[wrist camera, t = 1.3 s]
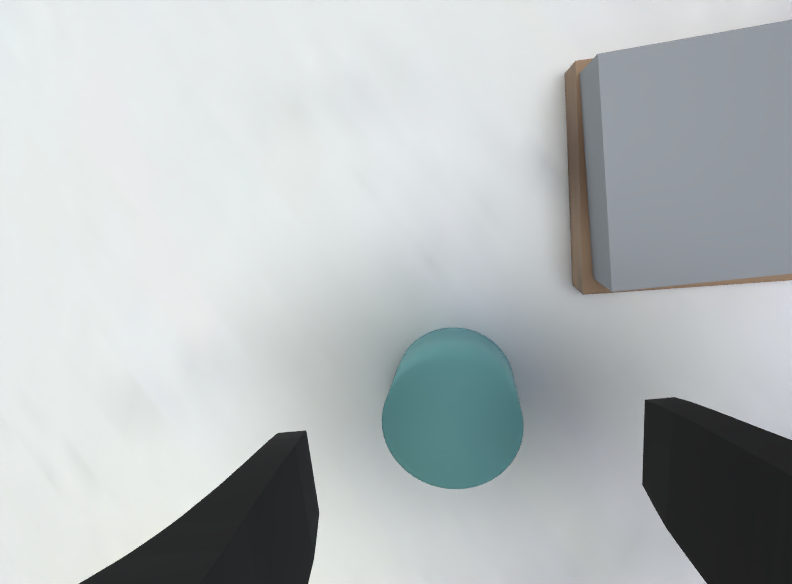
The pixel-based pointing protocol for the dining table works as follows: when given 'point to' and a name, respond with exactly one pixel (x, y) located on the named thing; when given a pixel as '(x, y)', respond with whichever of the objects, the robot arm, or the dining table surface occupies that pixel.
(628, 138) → the grey flat square block
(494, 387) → the teal cylinder
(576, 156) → the walnut slab
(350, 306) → the dining table surface
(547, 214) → the dining table surface
